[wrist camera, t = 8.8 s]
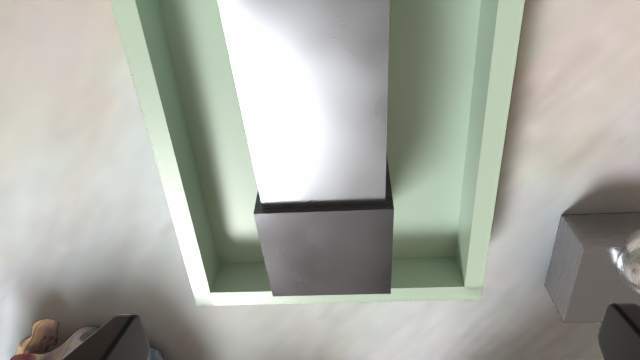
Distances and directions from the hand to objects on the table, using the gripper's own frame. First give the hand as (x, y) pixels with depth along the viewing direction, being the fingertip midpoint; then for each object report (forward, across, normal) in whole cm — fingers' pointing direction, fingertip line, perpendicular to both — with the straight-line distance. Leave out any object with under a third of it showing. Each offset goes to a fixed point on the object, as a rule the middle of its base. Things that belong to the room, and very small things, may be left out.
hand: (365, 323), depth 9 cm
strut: (+10, +1, -1) cm, 10 cm away
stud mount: (+12, -12, +8) cm, 19 cm away
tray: (+12, +1, +1) cm, 12 cm away
